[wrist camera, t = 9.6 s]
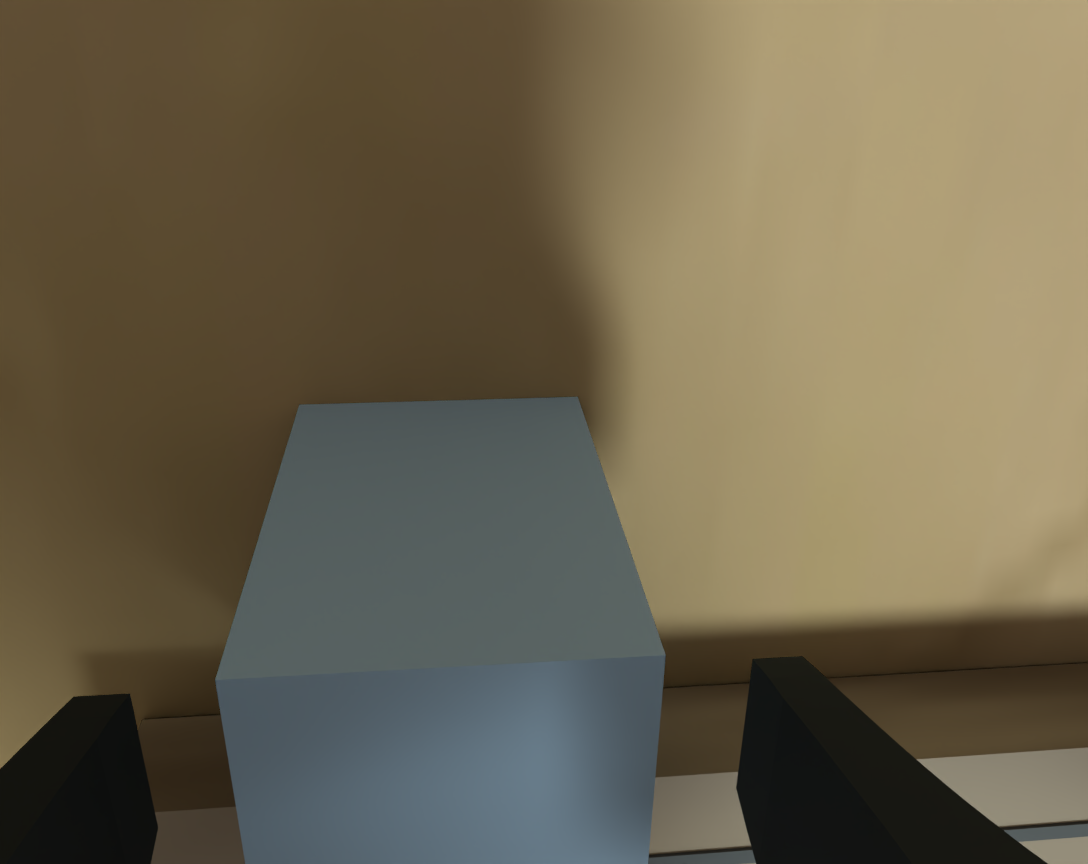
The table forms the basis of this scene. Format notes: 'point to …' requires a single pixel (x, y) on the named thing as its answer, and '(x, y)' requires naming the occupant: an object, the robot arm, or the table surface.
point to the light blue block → (442, 646)
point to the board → (714, 754)
